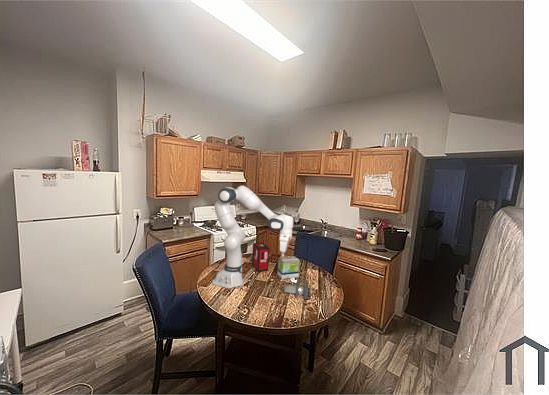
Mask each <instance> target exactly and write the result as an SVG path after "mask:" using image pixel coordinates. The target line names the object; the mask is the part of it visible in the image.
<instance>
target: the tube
mask: <svg viewBox="0 0 549 395" xmlns="http://www.w3.org/2000/svg"><path fill="white" fill-rule="evenodd" d="M310 290H311V291H312V289H311V288H310V287H308V292H307V297H310V296H311V292H310ZM283 292H284V293H288V294H294V295H295V293H296V285H291V284H284V288H283ZM304 292H305V286H300V287H299V294H298V295H301V296H304Z"/></svg>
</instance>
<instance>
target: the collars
mask: <svg viewBox="0 0 549 395" xmlns="http://www.w3.org/2000/svg"><path fill="white" fill-rule="evenodd" d="M304 283H305V285H304V287H305V292H304V295H303V298H304V299H308V296H307V292H308V288H311V290H310V293H312V286H313V279H310V282H309V281H308V280H305V282H304ZM309 283H310V284H309ZM300 284H301V280H300V279H296V284H295V286H296V293H295V294H294V297H295V298H299V295H300V294H299V287H301V286H300Z"/></svg>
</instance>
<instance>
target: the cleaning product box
mask: <svg viewBox="0 0 549 395" xmlns="http://www.w3.org/2000/svg"><path fill="white" fill-rule="evenodd" d="M269 261H270V247H269V246H268V245H266V244H265V243H263V242H262V241H261V242H252V258H251V265H252V266H253V268H255V270H256V271H257V272H258V273H262V272H269V267H270V266H269V264H270V262H269Z"/></svg>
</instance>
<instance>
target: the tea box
mask: <svg viewBox="0 0 549 395" xmlns="http://www.w3.org/2000/svg"><path fill="white" fill-rule="evenodd" d="M300 263H301V260H300V259H299V258H297V256H294V255H293V256H284V257H282V256H281V257H278V263H277V273H276V274H277V275H278V276H279V278H280V279H281V280H287V279H294V278H299V275H300V266H301V264H300Z"/></svg>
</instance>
